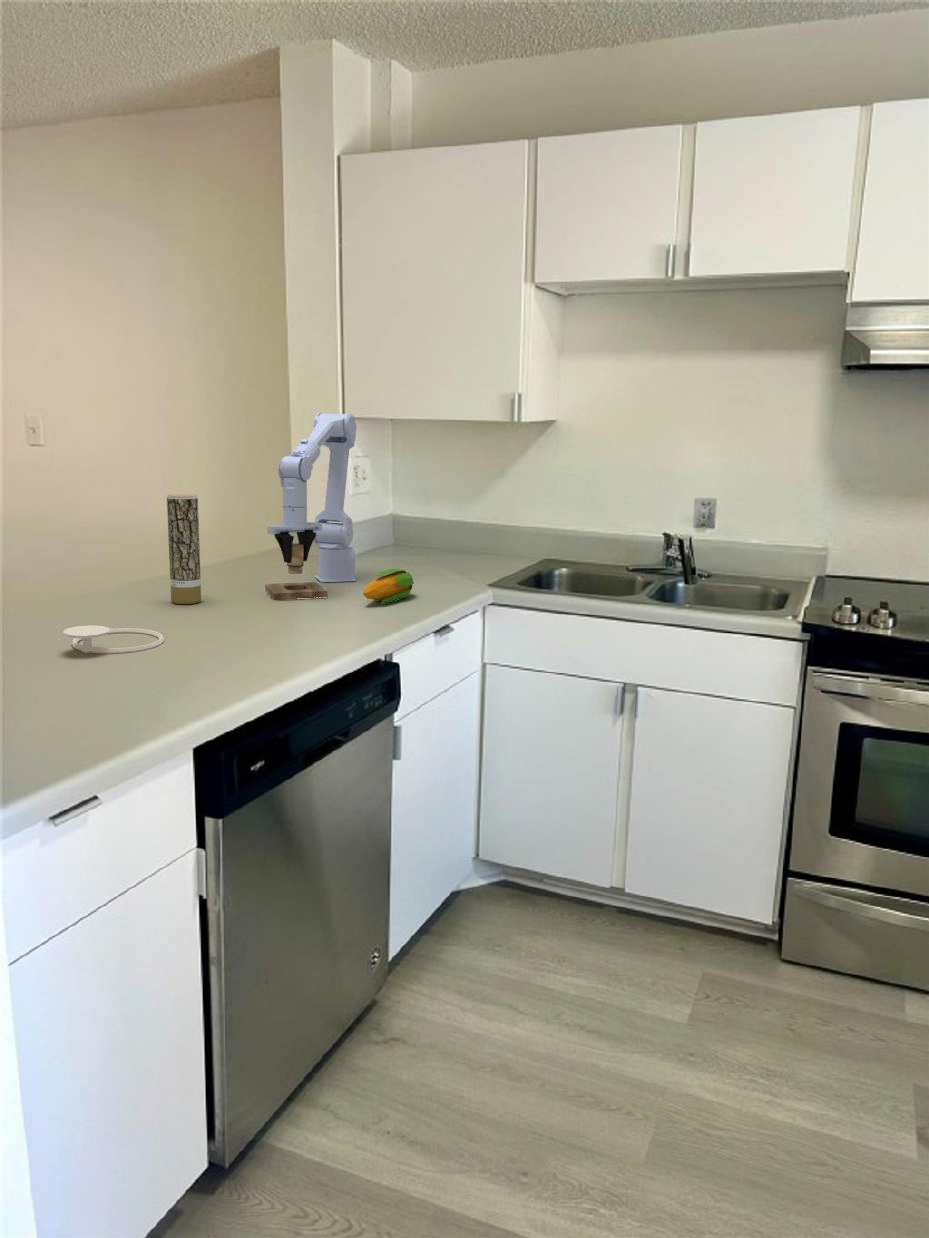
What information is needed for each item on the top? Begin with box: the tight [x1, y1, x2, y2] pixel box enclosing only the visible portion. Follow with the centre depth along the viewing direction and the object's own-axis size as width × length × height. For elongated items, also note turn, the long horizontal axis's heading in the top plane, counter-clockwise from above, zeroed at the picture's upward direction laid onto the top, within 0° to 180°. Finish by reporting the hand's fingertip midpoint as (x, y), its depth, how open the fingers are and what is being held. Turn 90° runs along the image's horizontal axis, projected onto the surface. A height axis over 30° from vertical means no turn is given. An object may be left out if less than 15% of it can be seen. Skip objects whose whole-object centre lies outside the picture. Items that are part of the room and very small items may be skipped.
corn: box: [362, 568, 415, 604], centre depth 223 cm, size 7×8×20 cm
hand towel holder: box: [62, 624, 165, 655], centre depth 176 cm, size 17×4×21 cm
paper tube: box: [166, 493, 202, 605], centre depth 212 cm, size 7×7×25 cm
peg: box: [286, 542, 305, 575], centre depth 225 cm, size 4×4×7 cm
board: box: [264, 581, 328, 601], centre depth 227 cm, size 13×12×2 cm
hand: (295, 561), depth 226 cm, fingers closed on peg, 4 cm apart
